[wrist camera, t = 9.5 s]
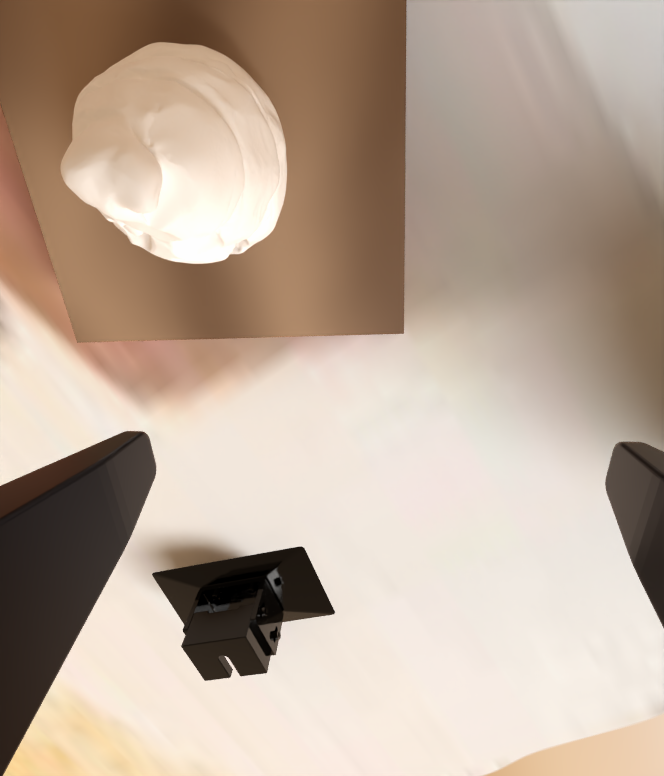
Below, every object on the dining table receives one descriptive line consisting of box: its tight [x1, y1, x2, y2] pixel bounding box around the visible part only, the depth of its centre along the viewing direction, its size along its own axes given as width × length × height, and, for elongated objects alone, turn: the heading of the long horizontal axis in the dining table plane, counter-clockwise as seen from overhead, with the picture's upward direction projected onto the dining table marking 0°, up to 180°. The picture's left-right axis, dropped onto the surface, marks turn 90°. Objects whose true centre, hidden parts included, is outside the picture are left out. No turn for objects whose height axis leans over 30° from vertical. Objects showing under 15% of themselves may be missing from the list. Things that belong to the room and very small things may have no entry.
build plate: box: [152, 547, 335, 681], centre depth 26 cm, size 12×7×5 cm, turn 108°
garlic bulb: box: [60, 42, 287, 264], centre depth 12 cm, size 6×6×5 cm
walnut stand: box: [0, 0, 406, 343], centre depth 16 cm, size 12×12×3 cm
